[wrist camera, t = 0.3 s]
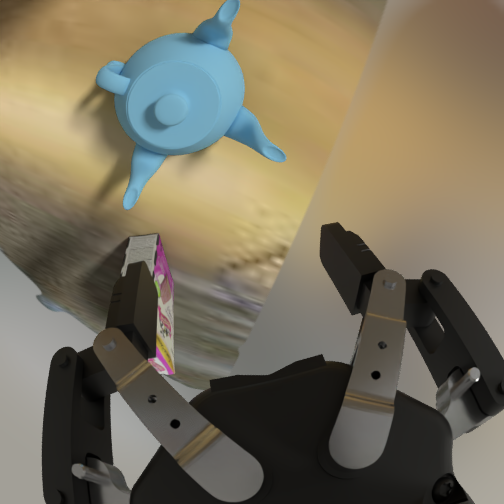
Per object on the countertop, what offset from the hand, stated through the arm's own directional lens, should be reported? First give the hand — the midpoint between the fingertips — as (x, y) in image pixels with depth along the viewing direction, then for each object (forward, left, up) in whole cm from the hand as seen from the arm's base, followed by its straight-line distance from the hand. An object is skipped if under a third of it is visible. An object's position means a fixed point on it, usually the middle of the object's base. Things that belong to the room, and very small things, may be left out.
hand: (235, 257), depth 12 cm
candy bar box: (+23, 0, -22) cm, 32 cm away
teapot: (-2, -4, -22) cm, 23 cm away
